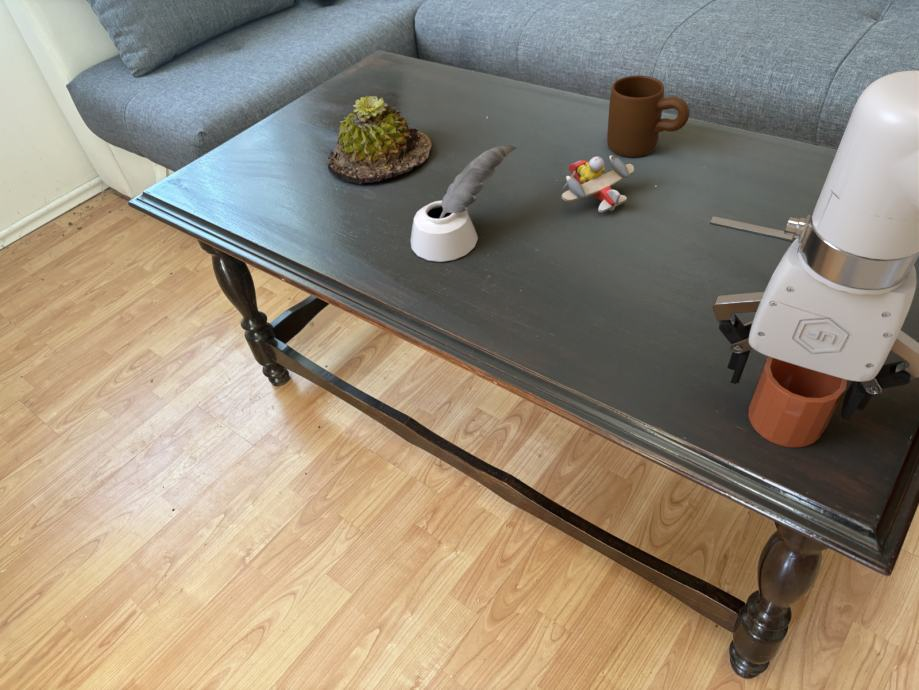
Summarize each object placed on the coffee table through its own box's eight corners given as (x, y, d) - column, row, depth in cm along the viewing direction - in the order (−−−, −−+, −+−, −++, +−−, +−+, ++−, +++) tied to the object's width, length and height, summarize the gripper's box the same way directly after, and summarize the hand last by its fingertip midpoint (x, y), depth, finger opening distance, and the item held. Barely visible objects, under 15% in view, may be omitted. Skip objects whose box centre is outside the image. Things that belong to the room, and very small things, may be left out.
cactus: (362, 199, 97) (348, 140, 90) (310, 160, 107) (293, 104, 100) (453, 153, 104) (446, 94, 97) (396, 121, 113) (386, 65, 106)
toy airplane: (569, 180, 96) (570, 140, 91) (632, 184, 94) (637, 143, 89) (558, 216, 90) (559, 176, 85) (626, 222, 88) (630, 181, 83)
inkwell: (396, 242, 89) (384, 179, 82) (493, 186, 97) (489, 123, 89) (440, 272, 84) (430, 207, 77) (538, 210, 91) (537, 146, 84)
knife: (854, 247, 80) (858, 239, 79) (853, 255, 79) (856, 247, 78) (712, 217, 87) (714, 209, 86) (709, 224, 86) (711, 216, 85)
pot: (828, 405, 65) (852, 358, 60) (816, 458, 61) (841, 412, 56) (756, 383, 67) (773, 336, 62) (740, 432, 64) (757, 386, 58)
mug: (693, 149, 98) (704, 88, 92) (668, 172, 95) (678, 111, 88) (622, 128, 104) (628, 70, 98) (596, 150, 101) (600, 91, 94)
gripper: (726, 247, 50) (686, 387, 63) (993, 313, 43) (889, 455, 56) (749, 194, 54) (707, 336, 67) (995, 247, 48) (897, 393, 60)
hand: (790, 390), depth 61 cm, fingers open, 9 cm apart
